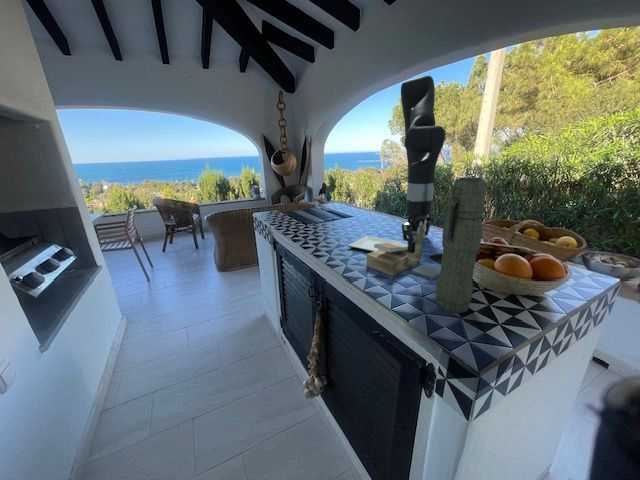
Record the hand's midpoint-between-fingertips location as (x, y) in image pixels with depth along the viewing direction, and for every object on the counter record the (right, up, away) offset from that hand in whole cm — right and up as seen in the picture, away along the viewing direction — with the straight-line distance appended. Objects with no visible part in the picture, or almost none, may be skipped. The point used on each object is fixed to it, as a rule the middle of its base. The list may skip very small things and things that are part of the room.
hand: (414, 250), depth 83 cm
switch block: (-2, -6, +18) cm, 19 cm away
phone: (+20, -6, +18) cm, 27 cm away
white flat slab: (-2, +1, +16) cm, 16 cm away
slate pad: (+8, -8, +9) cm, 15 cm away
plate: (-5, 0, +38) cm, 38 cm away
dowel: (0, -3, +1) cm, 3 cm away
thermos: (+7, -15, -10) cm, 19 cm away
